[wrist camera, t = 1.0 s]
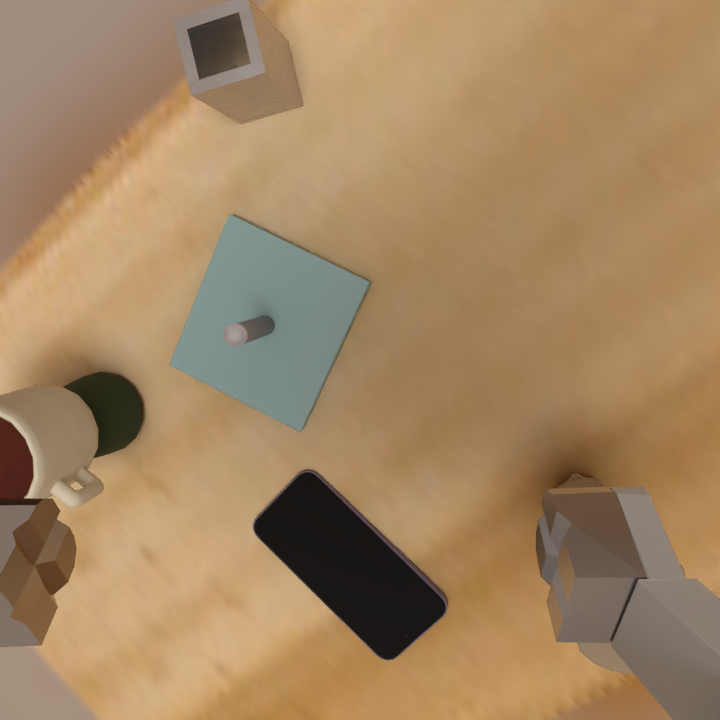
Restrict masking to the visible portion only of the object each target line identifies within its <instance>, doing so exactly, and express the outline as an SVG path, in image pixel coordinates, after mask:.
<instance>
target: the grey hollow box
mask: <svg viewBox="0 0 720 720" xmlns="http://www.w3.org/2000/svg"><path fill="white" fill-rule="evenodd" d="M173 24H174V28H175V32H176V36H177V40H178V44H179V48H180V52H181V56H182V60H183V64H184V68H185V72H186V76H187V80H188V84H189V89H190V93H191V96H193V97H195V98H196V99H198V100H200V101H202V102H203V103H205V104H207V105H209V106H210V107H212V108H214V109H216V110H218V111H219V112H221V113H223V114H225V115H226V116H228V117H230V118H232V119H233V120H235V121H237V122H239V123H240V124H242V123H246V122H249V121H253V120H256V119H260V118H263V117H266V116H270V115H273V114H277V113H280V112H283V111H287V110H290V109H294V108H297V107H301V106H303V103H302V99H301V95H300V90H299V86H298V81H297V77H296V72H295V68H294V64H293V59H292V55H291V50H290V46H289V42H288V41H287V40H286V39H285V38H284V37H283V35H282V34H281V33H280V32H279V31H278V30H277V28H276V27H275V26H274V25H273V24H272V23H271V22H270V20H269V19H268V18H267V17H266V16H265V15H264V13H263V12H262V11H261V10H260V9H259V8H258V7H257V5H256V4H255V3H254V2H253V1H252V0H231V1H228V2H225V3H222V4H219V5H216V6H213V7H210V8H207V9H204V10H201V11H199V12H195V13H192V14H190V15H187V16H183V17H181V18H178V19H175V20H173Z"/></svg>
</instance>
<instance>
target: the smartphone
mask: <svg viewBox="0 0 720 720" xmlns="http://www.w3.org/2000/svg"><path fill="white" fill-rule="evenodd" d="M253 530H254V532H255V534H256V536H257V537H258V538H259V539H260V540H261V541H262V542H263V543H264V544H265V545H266V546H267V547H268V548H269V549H270V550H271V551H272V552H273V553H274V554H275V555H276V556H277V557H278V558H279V559H280V560H281V561H282V562H283V563H284V564H285V565H286V566H287V567H288V568H289V569H290V570H291V571H292V572H293V573H294V574H295V575H296V576H297V577H298V578H299V579H300V580H301V581H302V582H303V583H304V584H305V585H306V586H307V587H308V588H309V589H310V590H311V591H312V592H313V593H314V594H315V595H316V596H317V597H318V598H319V599H320V600H321V601H322V602H323V603H324V604H325V605H326V606H327V607H328V608H329V609H330V610H331V611H332V612H333V613H334V614H335V615H337V616H338V617H339V618H340V619H341V620H342V621H343V622H344V623H345V624H346V625H347V626H348V627H349V628H350V629H351V630H352V631H353V632H354V633H355V634H356V635H357V636H358V637H359V638H360V639H361V640H362V641H363V642H364V643H365V644H366V645H367V646H368V647H369V648H370V649H371V650H372V651H373V652H374V653H375V654H376V655H377V656H378V657H380V658H381V659H384V660H393V659H395V658H397V657H398V656H399V655H401V654H402V653H403V652H404V651H405V650H406V649H407V648H408V647H410V646H411V645H412V644H413V643H414V642H415V641H416V640H418V639H419V638H420V637H421V636H422V635H423V634H424V633H425V632H427V631H428V630H429V629H430V628H431V627H432V626H433V625H434V624H436V623H437V622H438V621H439V620H440V619H441V618H442V617H443V616H444V615H445V614H446V611H447V605H448V601H447V598H446V596H445V594H444V593H443V592H442V591H441V590H440V589H439V588H438V587H437V586H436V585H435V584H434V583H433V582H432V581H431V580H430V579H429V578H428V577H427V576H426V575H425V574H424V573H423V572H422V571H421V570H420V569H419V568H417V567H416V566H415V565H414V564H413V563H412V562H411V561H410V560H409V559H408V558H407V557H406V556H405V555H404V554H403V553H402V552H401V551H400V550H399V549H398V548H397V547H396V546H395V545H393V544H392V543H391V542H390V541H389V540H388V539H387V538H386V537H385V536H384V535H383V534H382V533H381V532H380V531H379V530H378V529H377V528H376V527H374V526H373V525H372V524H371V523H370V522H369V521H368V520H367V519H366V518H365V517H364V516H363V515H362V514H361V513H360V512H359V511H358V510H357V509H356V508H355V507H353V506H352V505H351V504H350V503H349V502H348V501H347V500H346V499H345V498H344V497H343V496H342V495H341V494H340V493H339V492H338V491H337V490H336V489H334V488H333V487H332V486H331V485H330V484H329V483H328V482H327V481H326V480H325V479H324V478H323V477H322V476H321V475H320V474H318V473H317V472H315V471H313V470H304V471H302V472H300V473H299V474H298V475H297V476H296V477H295V478H294V479H293V480H292V481H291V482H290V483H289V484H288V485H287V486H286V487H285V489H284V490H283V491H282V492H281V493H280V494H279V495H278V496H277V497H276V498H275V499H274V500H273V501H272V502H271V503H270V504H269V505H268V506H267V507H266V508H265V509H264V510H263V511H262V512H261V514H260V515H259V516H258V517H257V518H256V519H255V521H254V523H253Z"/></svg>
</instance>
